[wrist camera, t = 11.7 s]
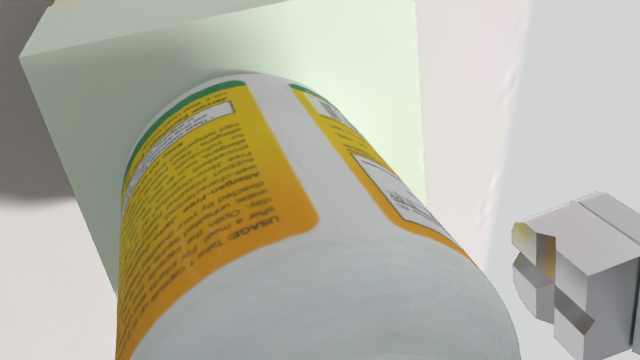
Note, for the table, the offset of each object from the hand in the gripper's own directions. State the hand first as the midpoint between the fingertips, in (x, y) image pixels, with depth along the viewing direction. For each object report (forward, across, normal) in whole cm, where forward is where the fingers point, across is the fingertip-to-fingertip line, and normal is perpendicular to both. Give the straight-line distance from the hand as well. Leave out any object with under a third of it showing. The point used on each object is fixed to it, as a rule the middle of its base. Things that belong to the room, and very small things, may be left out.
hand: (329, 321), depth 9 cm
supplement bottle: (+5, 0, 0) cm, 5 cm away
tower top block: (+10, 0, 0) cm, 10 cm away
